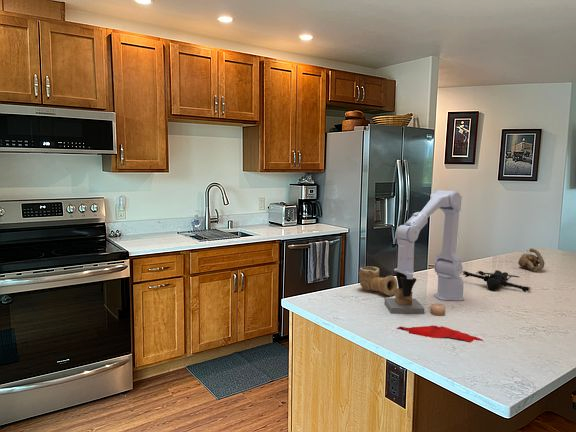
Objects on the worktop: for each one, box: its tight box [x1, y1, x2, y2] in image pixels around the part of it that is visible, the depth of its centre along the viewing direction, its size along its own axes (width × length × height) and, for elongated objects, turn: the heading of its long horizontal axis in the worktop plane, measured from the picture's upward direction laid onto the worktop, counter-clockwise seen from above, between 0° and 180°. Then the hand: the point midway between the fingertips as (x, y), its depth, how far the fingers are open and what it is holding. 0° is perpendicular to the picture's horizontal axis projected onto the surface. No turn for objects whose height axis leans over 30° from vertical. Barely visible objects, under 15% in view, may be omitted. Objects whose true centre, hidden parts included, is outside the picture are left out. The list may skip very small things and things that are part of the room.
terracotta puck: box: [429, 303, 446, 317], centre depth 155 cm, size 5×5×3 cm
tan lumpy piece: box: [518, 248, 546, 273], centre depth 227 cm, size 13×9×15 cm
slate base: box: [383, 297, 426, 315], centre depth 160 cm, size 12×12×2 cm
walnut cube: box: [394, 287, 413, 305], centre depth 160 cm, size 5×5×5 cm
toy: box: [461, 269, 532, 293], centre depth 197 cm, size 29×7×30 cm
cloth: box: [396, 325, 484, 343], centre depth 136 cm, size 26×14×2 cm, turn 57°
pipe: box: [358, 266, 398, 297], centre depth 181 cm, size 9×16×10 cm, turn 45°
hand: (404, 293), depth 160 cm, fingers open, 7 cm apart
